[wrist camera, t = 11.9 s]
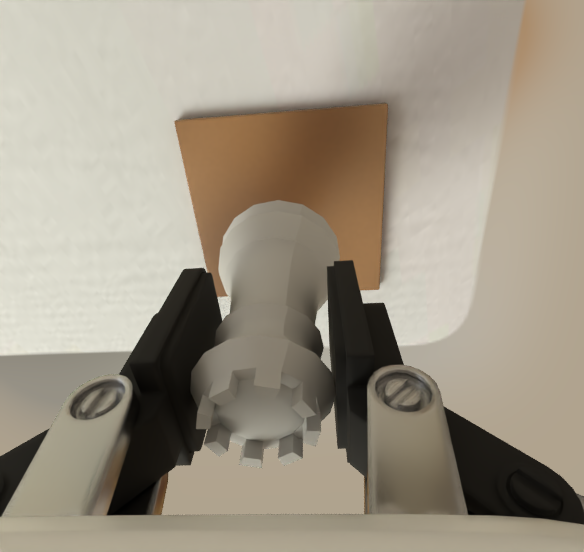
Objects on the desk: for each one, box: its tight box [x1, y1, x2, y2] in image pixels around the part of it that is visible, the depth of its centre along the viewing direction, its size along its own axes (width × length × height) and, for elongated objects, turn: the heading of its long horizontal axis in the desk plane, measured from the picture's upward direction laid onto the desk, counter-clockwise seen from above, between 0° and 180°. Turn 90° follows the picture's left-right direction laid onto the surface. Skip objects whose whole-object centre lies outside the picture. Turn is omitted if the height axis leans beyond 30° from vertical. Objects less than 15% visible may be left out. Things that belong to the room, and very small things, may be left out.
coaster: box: [175, 103, 388, 297], centre depth 18 cm, size 9×9×1 cm
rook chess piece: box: [190, 200, 340, 468], centre depth 11 cm, size 4×4×8 cm
